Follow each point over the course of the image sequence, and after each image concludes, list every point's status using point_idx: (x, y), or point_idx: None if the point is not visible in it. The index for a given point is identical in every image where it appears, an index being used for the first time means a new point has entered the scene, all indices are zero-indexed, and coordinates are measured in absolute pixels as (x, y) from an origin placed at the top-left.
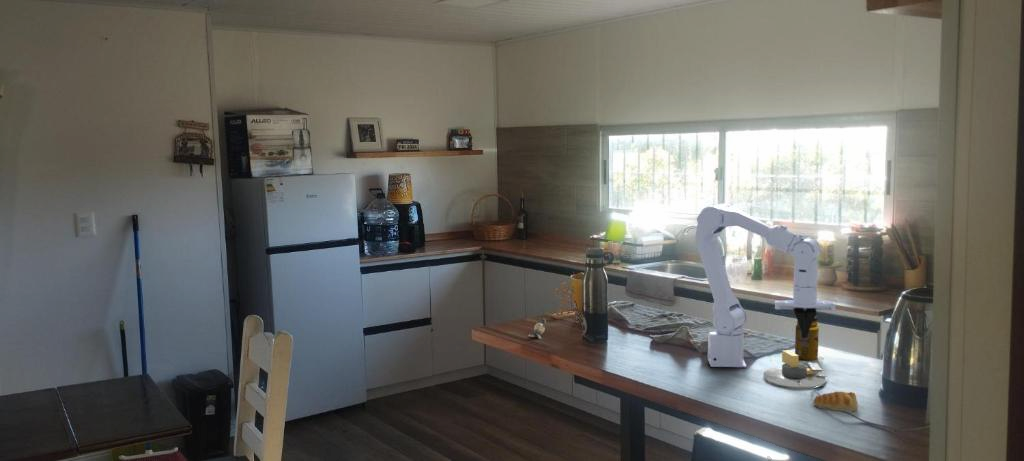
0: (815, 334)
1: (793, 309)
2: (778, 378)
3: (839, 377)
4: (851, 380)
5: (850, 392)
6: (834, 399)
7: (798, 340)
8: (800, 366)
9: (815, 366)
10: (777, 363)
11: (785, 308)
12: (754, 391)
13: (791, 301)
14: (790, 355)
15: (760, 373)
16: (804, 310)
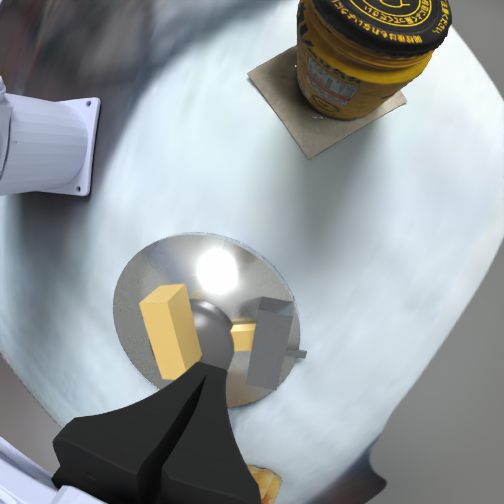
0: (396, 89)
1: (61, 463)
2: (147, 347)
3: (359, 325)
4: (378, 354)
5: (269, 498)
6: None
7: (302, 68)
8: (210, 352)
9: (268, 356)
10: (201, 140)
11: (12, 456)
12: (94, 380)
13: (4, 479)
14: (159, 368)
15: (117, 254)
16: (161, 481)
